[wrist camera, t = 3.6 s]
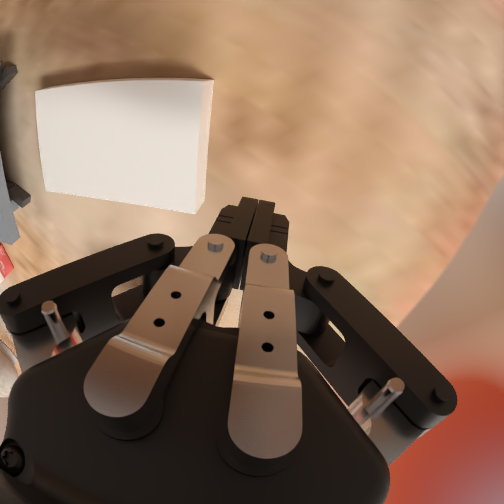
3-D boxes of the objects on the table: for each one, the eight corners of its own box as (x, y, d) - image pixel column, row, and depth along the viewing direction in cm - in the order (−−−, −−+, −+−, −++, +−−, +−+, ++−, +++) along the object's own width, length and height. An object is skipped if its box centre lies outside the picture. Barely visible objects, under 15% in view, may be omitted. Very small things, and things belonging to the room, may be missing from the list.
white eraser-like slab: (53, 86, 20) (35, 91, 17) (214, 79, 19) (203, 81, 17) (61, 180, 25) (45, 190, 23) (204, 200, 25) (195, 214, 22)
